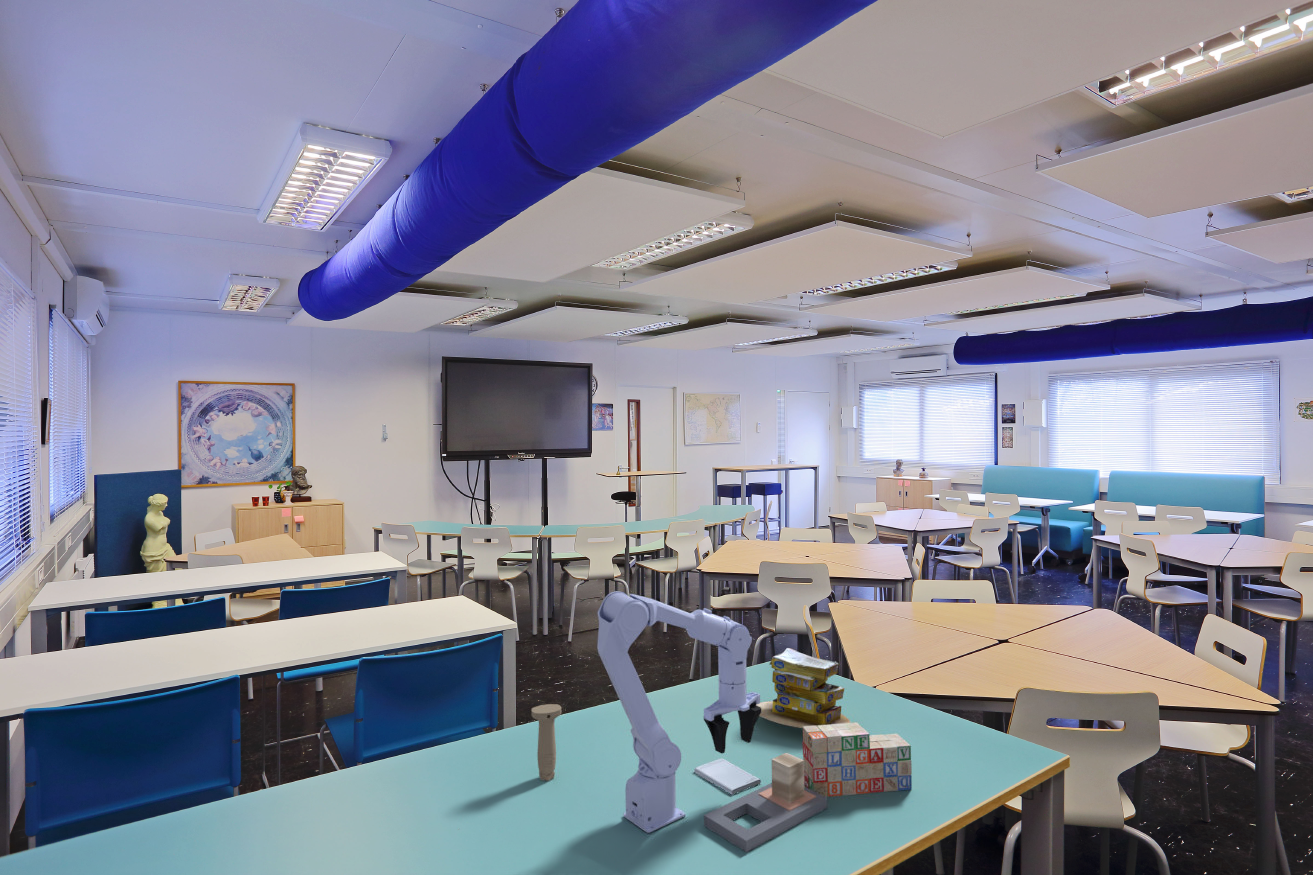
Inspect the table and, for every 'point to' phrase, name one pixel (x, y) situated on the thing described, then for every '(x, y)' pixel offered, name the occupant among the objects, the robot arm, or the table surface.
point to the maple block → (788, 777)
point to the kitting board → (762, 816)
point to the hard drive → (727, 776)
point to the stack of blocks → (854, 760)
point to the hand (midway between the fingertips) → (733, 746)
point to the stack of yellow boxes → (803, 691)
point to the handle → (546, 739)
